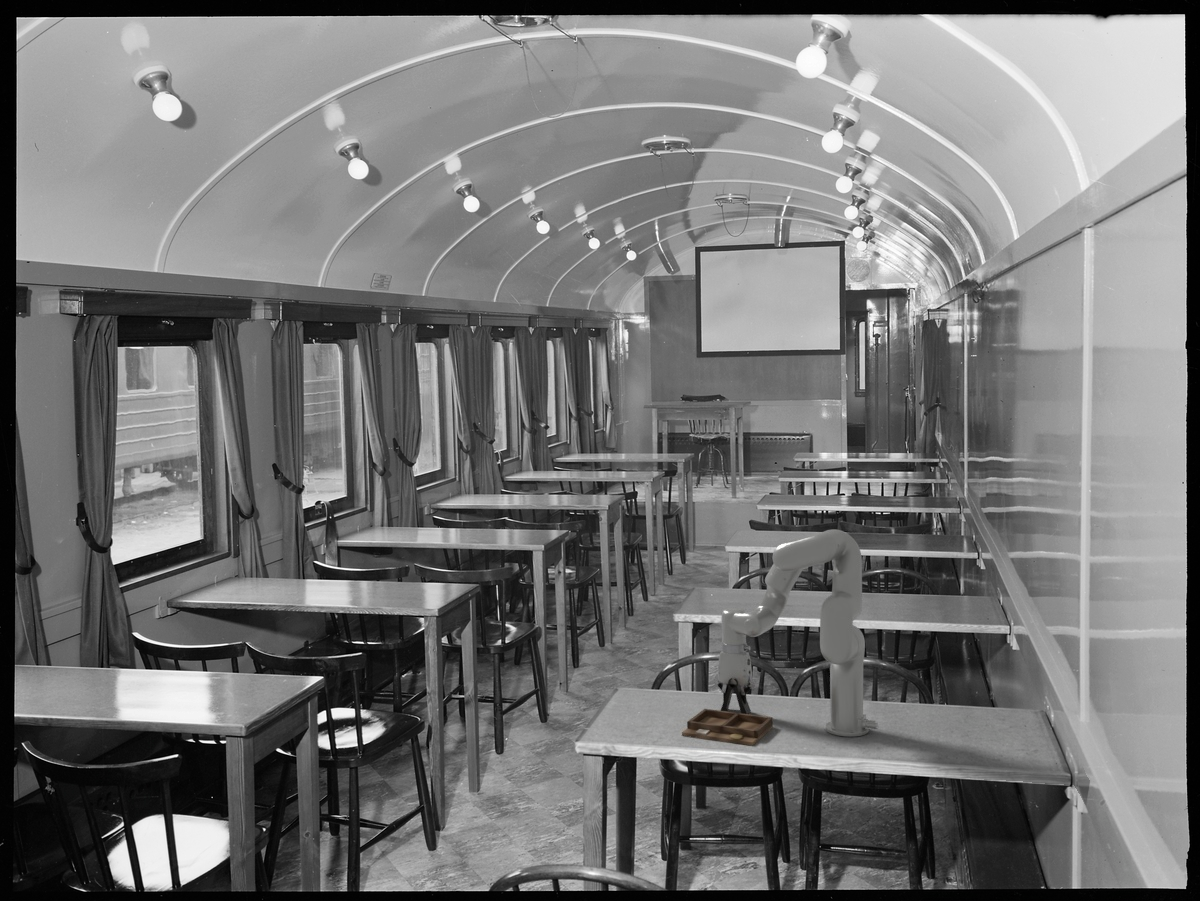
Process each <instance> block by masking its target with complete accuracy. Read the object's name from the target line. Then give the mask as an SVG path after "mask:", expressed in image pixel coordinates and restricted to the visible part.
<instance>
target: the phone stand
mask: <svg viewBox="0 0 1200 901" xmlns="http://www.w3.org/2000/svg"><path fill="white" fill-rule="evenodd" d="M730 680H732V678H731V679H730ZM730 680H729V681H728V691H727V694H726V696H725V699H724V701H723V703H722V704H721V705H722V706H721V709H720V710H719V711H726V712H734V713H742V714H749V715H750V714H751V708H750V705H749V701H748V699H747V698H746V704H744V701H743V699H742V698H741V691H740V686H739V685H738V682H737V680H736V679H734V680H735V681H736V683H737V685H732V684H730ZM733 692H735V696H736V699H737V703H738V707H739V709H731V708H730V709H729V707H730V704H729V702H730V703H731V700H732V699H731V698H732V696H733Z"/></svg>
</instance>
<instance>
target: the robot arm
mask: <svg viewBox="0 0 1200 901" xmlns="http://www.w3.org/2000/svg"><path fill="white" fill-rule="evenodd" d="M771 558H772V562H773V564H772V566H771V567H770V569H769V571H768V573H767V574H766V576H765V579H764V582H765V585H766V591H765V593H764V595H763V597H762V599H761V601H760V602H759V604H758V606H757V607H756V608H755V609H753V610H751V611H749V612H748V611H747V612H746V611H745V610H743V608H738V607H728V608H725V609H723V610H722V612H721V651H719V652H720V653H719V657H718V664H717V674H716V675H715V676H714V678H713V679H712V682H713V683H714V684H715V685H716V686H717V687H718V688H719V690H720V691H721V692H722V693H723V702H724V699H725V696H726V694H727V691H728V681H729V680H730V679H731V678H732V680H730V684H732V685H737V683H736V681H735V680H734V679H736V680H737V682H738V685H739V686H740V691H741V698H742V699H743V701H744V704H746V699H747V693H749V691H751V690H752V689H754V688H755V687H757V683H756V681H755V680H754V678H753V672H752V662H751V657H750V652H749V651H751V646H750V645H748V643H747V637H751V638H755V637H759V636H761V635H763V634H764V633H766V632H768V631H770V630H771V629H772V628H773V627H775V625H776V623H777V622H778V620H779V619H780V617H781V615H782V613H783V611H784V609H785V607H786V606H787V602H788V599H789V598H790V593H791V591H792V590H793V587H794V586H795V584H796V582H797V580H798V579H799V577H800V575H801V574H802V572H803V570H804V569H806V568H810V567H813V566H818V565H822V564H827V563H828V562H831V561H833V569H832V588H831V589H832V590H831V594H830V595H828V596H827V597H826V598H825V599H824V601H823V602H822V605H821V609H820V614H819V615H820V616H819V619H820V620H819V647H820V652H821V655H822V657H823V658H824V659H825V660H826V661H827V662H828V663H830V668H829V669H830V670H829V671H830V672H829V673H830V675H829V676H830V677H829V682H830V684H829V687H830V688H829V689H830V690H829V691H830V692H829V694H830V696H829V697H830V701H829V702H830V706H829V707H830V708H829V709H830V721H828V722H826V723H825V725H824V726H825V727H824V728H825V731H826V732H827V733H829V734H831V735H835V736H839V737H846V738H847V737H851V738H852V737H861V736H864V735H866V734H868V733H869V731H870V730H869V729H871V730H878V727H879V724H878V722H876V720H872V719H871V720H870V719H868V718H867V714H864V659H865V652H866V651H865V648H866V644H865V643H866V640H865V637H864V634H863V632H862V631H861V629H860V628H859V627H857V626H855V625H853V624H854V621H855V620H856V619H857V618H859V617H860V615H861V614H862V611H863V610H862V609H863V559H862V558H863V557H862V552H861V548H860V546H859V544H858V542H857V541H856V540H855V539H854V537H852V536H851V535H850V534H848V532H845V531H843V530H840V529H827V530H824V531H822V532H819V533H817V534H815V535H811V536H808V537H805V538H801V539H789V540H786V541H784V542H782V543H780V544H778V545H777V546H776V547H775V549H774V550H773V553H772V557H771ZM748 684H749V685H748ZM747 685H748V686H747ZM730 704H731V701H730V702H729V705H730Z"/></svg>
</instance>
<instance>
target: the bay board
mask: <svg viewBox="0 0 1200 901" xmlns="http://www.w3.org/2000/svg"><path fill="white" fill-rule="evenodd" d="M686 722H687V724H686V729H684V730H682V732H681V736H682V735H685V736H684V737H688V736H691V737H690V738H695V737H697V738H696V739H702V738H703V740H708V741H716V742H717V741H718V742H724V743H730V744H731V743H732V744H738V745H745V746H752V747H753V746H755V744H757V743H758V742H759V741H760V740H761V739H762V738H763V737H764V736H765V735H766V734H767V733H768V732H770V731H771V729H772V728H773V727H774V724H773V717H771V716H763V715H755V714H750V713H749V714H742V713H734V712H726V711H720V710H719V709H708V708H704V709H702V710H701V711H699V712H698V713H697V714H695V715H694V716H693V717H692V718H690V719H688V720H687V721H686Z"/></svg>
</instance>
